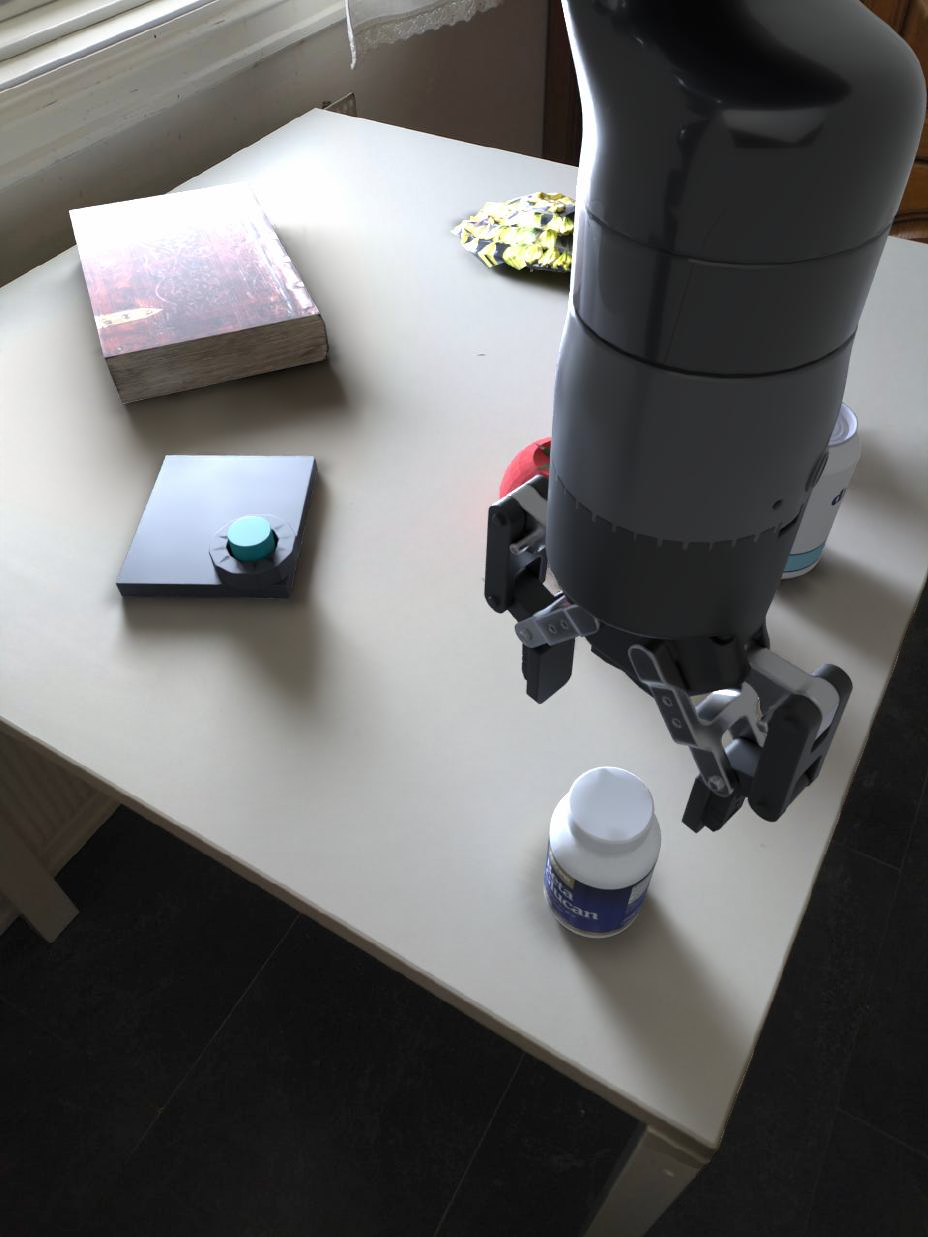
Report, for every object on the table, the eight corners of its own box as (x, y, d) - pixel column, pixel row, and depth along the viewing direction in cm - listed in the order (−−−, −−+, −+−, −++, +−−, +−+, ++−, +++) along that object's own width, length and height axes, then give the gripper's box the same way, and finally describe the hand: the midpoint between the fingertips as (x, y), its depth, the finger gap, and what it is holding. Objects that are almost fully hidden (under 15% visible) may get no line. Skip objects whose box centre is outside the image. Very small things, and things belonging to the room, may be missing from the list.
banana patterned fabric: (424, 271, 94) (420, 202, 91) (494, 245, 106) (493, 184, 103) (605, 282, 86) (608, 207, 82) (659, 253, 98) (663, 187, 95)
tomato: (544, 477, 71) (549, 392, 65) (640, 525, 67) (655, 439, 61) (474, 539, 67) (472, 454, 61) (572, 594, 63) (581, 508, 57)
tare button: (271, 562, 62) (266, 546, 61) (227, 562, 62) (222, 546, 61) (278, 532, 64) (274, 516, 63) (236, 532, 64) (232, 516, 63)
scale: (294, 604, 63) (287, 574, 61) (119, 601, 63) (105, 572, 61) (323, 469, 72) (318, 439, 70) (170, 468, 73) (160, 438, 71)
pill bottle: (523, 904, 48) (529, 816, 41) (574, 829, 51) (588, 733, 44) (612, 962, 46) (635, 879, 39) (660, 880, 49) (690, 788, 42)
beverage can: (815, 596, 62) (870, 460, 53) (713, 578, 64) (750, 442, 55) (817, 529, 67) (869, 393, 57) (722, 513, 68) (758, 377, 59)
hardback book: (330, 358, 83) (322, 308, 79) (122, 407, 78) (104, 357, 75) (258, 222, 100) (248, 176, 97) (85, 257, 96) (69, 210, 92)
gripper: (420, 393, 28) (443, 700, 40) (829, 655, 21) (704, 929, 33) (585, 300, 31) (559, 611, 43) (987, 499, 24) (819, 802, 36)
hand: (622, 748), depth 38 cm, fingers open, 8 cm apart
